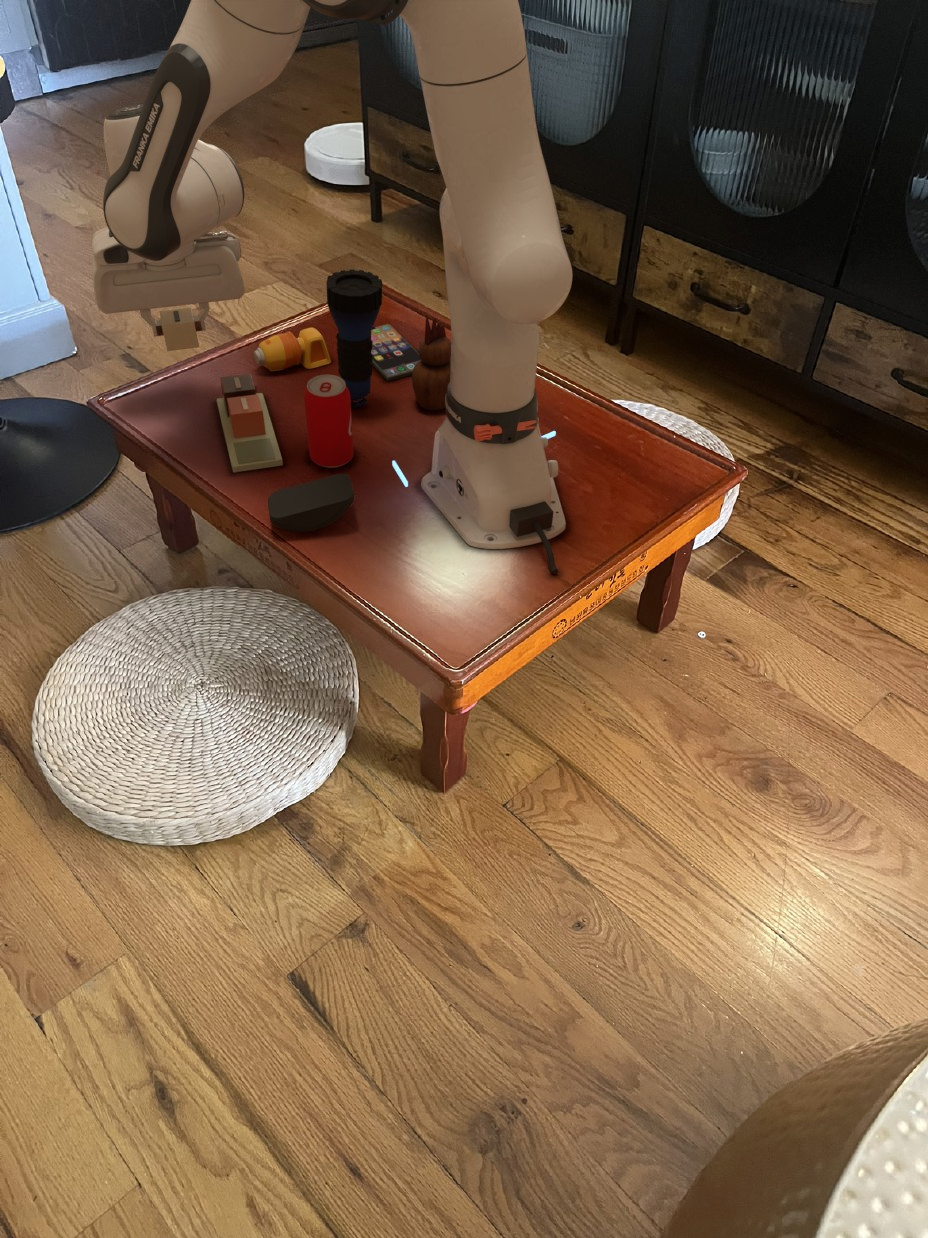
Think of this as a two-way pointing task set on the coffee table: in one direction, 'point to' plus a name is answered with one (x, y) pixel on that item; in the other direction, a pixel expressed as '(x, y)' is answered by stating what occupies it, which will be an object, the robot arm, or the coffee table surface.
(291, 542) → the coffee table surface
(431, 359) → the wooden figurine
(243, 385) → the brown box with stripe
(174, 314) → the letter i block
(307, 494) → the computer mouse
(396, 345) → the smartphone
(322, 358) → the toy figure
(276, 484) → the coffee table surface
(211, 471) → the coffee table surface
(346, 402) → the beverage can
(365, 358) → the flashlight
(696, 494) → the coffee table surface
